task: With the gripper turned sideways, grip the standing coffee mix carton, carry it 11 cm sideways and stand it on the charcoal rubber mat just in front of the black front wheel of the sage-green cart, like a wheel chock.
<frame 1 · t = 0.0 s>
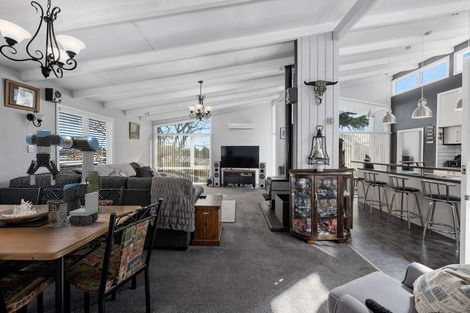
hand: (42, 184, 163), 28 cm above the table, tool pointing down, fingers open, 13 cm apart
cart: (82, 221, 176), on the table
thermos: (93, 213, 203), on the table
chock mat: (68, 221, 176), on the table
coffee box: (57, 226, 165), on the table
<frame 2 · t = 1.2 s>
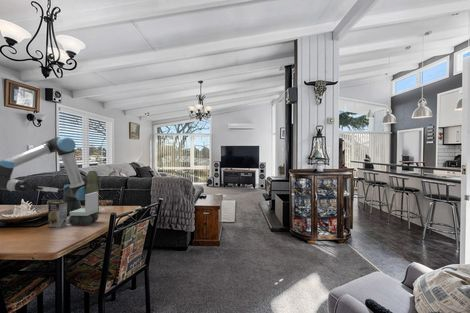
hand: (53, 189, 169), 24 cm above the table, tool horizontal, fingers open, 13 cm apart
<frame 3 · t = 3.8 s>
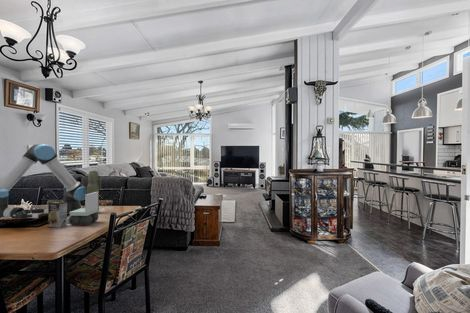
hand: (46, 213, 164), 8 cm above the table, tool horizontal, fingers open, 13 cm apart
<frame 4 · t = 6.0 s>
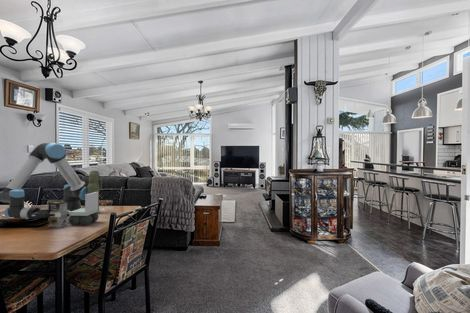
hand: (64, 213, 165), 8 cm above the table, tool horizontal, fingers closed on coffee box, 8 cm apart
thermos: (92, 213, 203), on the table, touching arm
coffee box: (57, 226, 165), on the table, touching gripper
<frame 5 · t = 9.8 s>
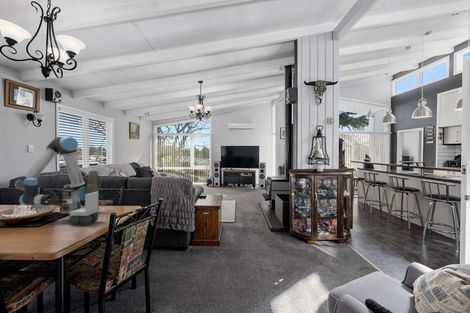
hand: (75, 200, 176), 15 cm above the table, tool horizontal, fingers closed on coffee box, 7 cm apart
coffee box: (68, 212, 176), point 6 cm above the table, touching gripper
everything else where it was.
when the fingers open (10 cm above the table, at t = 11.2 s): coffee box drops 1 cm, resting on chock mat.
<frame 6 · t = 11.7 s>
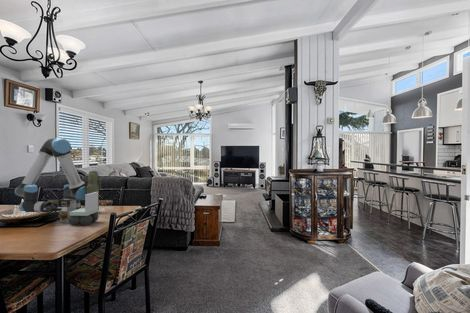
hand: (73, 207, 176), 10 cm above the table, tool horizontal, fingers open, 13 cm apart
coffee box: (67, 221, 175), resting on chock mat
everything else where it was.
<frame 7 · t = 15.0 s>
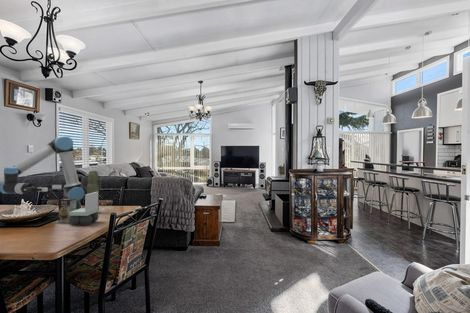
hand: (54, 188, 175), 24 cm above the table, tool horizontal, fingers open, 13 cm apart
thermos: (92, 213, 202), on the table
everything else where it was.
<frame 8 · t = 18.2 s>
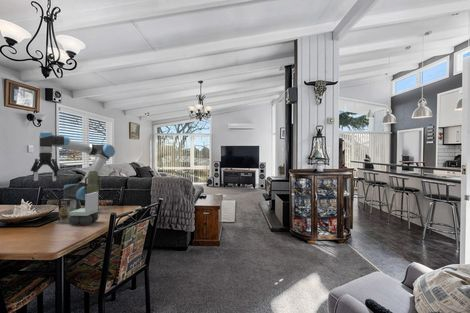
hand: (45, 180, 182), 29 cm above the table, tool pointing down, fingers open, 13 cm apart
nothing on the table moved.
at the end: coffee box inside the target area (1.1 cm from its centre), resting on chock mat; coffee box tilted 0°; the gripper is holding nothing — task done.
